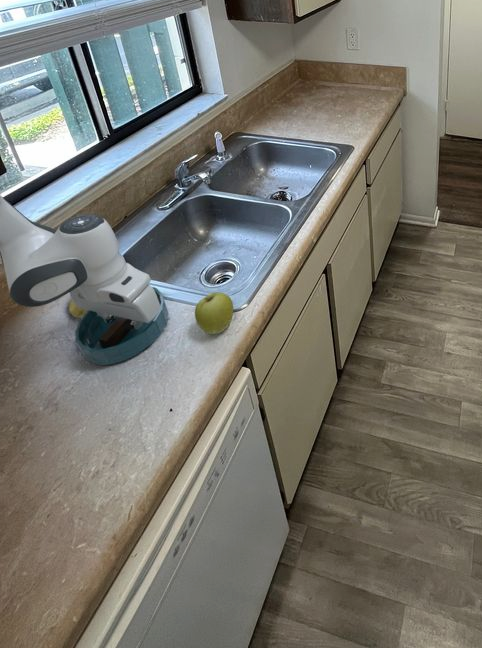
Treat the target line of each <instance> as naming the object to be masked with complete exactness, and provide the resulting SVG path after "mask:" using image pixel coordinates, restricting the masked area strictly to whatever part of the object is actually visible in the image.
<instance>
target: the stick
mask: <svg viewBox="0 0 482 648" xmlns="http://www.w3.org/2000/svg"><path fill="white" fill-rule="evenodd" d="M131 322H132V320H131V319H126V318H122V317H119V318H118V319H117V320H116V321H115V322H114V323H113V324H112V325H111V326H110V327H109V328H108V329H107V330H106V331H105V332H104V333H103V334H102V336H101V337H100V338H99V339H98V340H99V342H100V344H101V346H102V348H103V349H105V348H109V347H113V346H117V345H118V344H119V343H120V342H121V341H122V339H123V338H124V337H125V336H126V335H127V334H128V333H129V332H130V331H131V329H132V328H131V326H130V323H131Z"/></svg>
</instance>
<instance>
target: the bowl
mask: <svg viewBox="0 0 482 648" xmlns="http://www.w3.org/2000/svg"><path fill="white" fill-rule="evenodd" d="M151 287H152V288H153V289H154V291H155V293H156V295H157V298H158V301H159V304H160V310H159V312H158V313H157V315H156V316H155V317H154V318H153V319H152V320H151V321H150V322H149V323H144V322H143V324H142V326H141V327H140V328H139V329H138V330H135V329H131V331H130V332H129V333H128V334H127V335H126V336H125V337H124V338H123V339H122V341H121V342H120V343H119V344H118V345H117V346H113V347H109V348H105V349H103V348H102V346H101V344H100V342H99V340H98V339H99V338H100V337H101V336H102V334H103V333H104V332H105V331H106V330H107V329H108V328H109V327H110V326H111V325H112V324H113V323H114V322H115V321H116V320H117V319H118V318H119V317H117V316H116V317H117V318H116V320H115V321H113V323H112V324H110V323H105V321H104V319H103V318H102V317H101V316H100V315H98V314H97V313H96V312H94V311H90V310H88V311H87V312H86V313H85V315H84V316H83V317H82V318H81V319H80V320H79V321H78V323H77V327H76V329H75V332H74V336H75V337H74V338H75V343H76V345H77V346H78V349H79V350H80V353H81V354H82V356H83V357H84V358H85V360H86V361H87V362H89V363H92V364H94V365H96V366H97V365H98V366H99V365H101V366H102V365H106V366H107V365H113V364H117V363H121V362H125V361H127V360H128V359H131V358H132V357H135V356H137V355H138V354H140V353H142V352H143V351H144V350H145V349H147V348H148V347H149V346H151V345H152V344H153V343H154V341H155V340H157V338H158V337H160V335H161V334H162V332H163V330H164V329H165V328H166V326H167V322H168V318H169V309H168V307H167V304H166V301H165V298H164V296H163V293H162V292H161V291H160V290H159V289H158V288H157V287H155V286H151Z"/></svg>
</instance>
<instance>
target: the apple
mask: <svg viewBox="0 0 482 648" xmlns="http://www.w3.org/2000/svg"><path fill="white" fill-rule="evenodd" d="M233 316H234V302H233V300H232V299H231V297H230V296H229V295H228V294H226V293H224V292H220V291H219V292H218V291H217V292H212V293H210V294H208V295H207V296H205V297H203V298H201V299H200V300H199V301H198V302H197V304H196V306H195V308H194V317H195V321H196V323H197V325H198V327H199V328H200V329H201V330H202V331H203V332H204V333H206V334H209V335H217V334H219V333H222V332H224V331H225V330H226V329H227V328H228V327H229V325H230V324H231V322H232V320H233Z"/></svg>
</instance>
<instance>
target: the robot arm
mask: <svg viewBox="0 0 482 648" xmlns="http://www.w3.org/2000/svg"><path fill="white" fill-rule="evenodd" d="M118 241H119V240H118V239H117V237H116V234H115V232H114V230H113V229H112V226H111V225H110V224H109V222H108V221H107V220H106V219H105V218H104V217H102V216H100V215H97V214H92V213H91V214H90V213H89V214H86V213H85V214H79V215H75V216H72V217H70V218H68V219H66V220H64V221H63V222H62V223H61V224H59V226H58V228H57V229H55V228H53V227H51V226H47V225H44V224H41V223H38V222H35V221H33V220H31V219H29V218H28V217H26V216H25V215H24V214H23V213H22V212H21V211H19V209H17V208H16V207H15V206H13V205H12V204H11V203H10V202H9V201H8V200H7V199H5V198H4V197H3V196H2V195H1V194H0V260H1V263H2V265H3V267H4V272H5V277H6V282H7V287H8V292H9V296H10V298H11V300H12V301H13V302H14V304H17V305H19V306H22V307H28V308H36V307H37V308H38V307H43V306H45V305H48V304H51V303H54V302H55V301H57V300H59V299H61V298H62V297H64V296H66V295H67V294H69V295H70V298H71V300H72V301H73V303H74V305H75V306H77V307H78V308H81V309H85V310H90V311H94V312H96V313H97V314H98V315H100V316H101V317H102V318H103V319H104V321H105V323H110V324H112V323H113V321H115V320H116V318H117V317H122V318H126V319H131V320H132V322H131V323H130V326H131V328H132V329H135V330H138V329H139V328H140V327H141V326H142V324H143V322H144V323H149V322H150V321H151V320H152V319H153V318H154V317H155V316H156V315H157V313H158V312H159V310H160V304H159V301H158V298H157V295H156V293H155V291H154V289H153V288H152V287H153V286H152V285H151V284H150V283H151V280H152V278H151V276H150V274H148V273H147V272H143V271H141V270H140V269H137V268H135V267H134V266H133V265H132V264H130V263H129V262H126V259H125V257H124V256H123V254H121V252H120V244H119V242H118ZM116 316H117V317H116Z"/></svg>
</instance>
